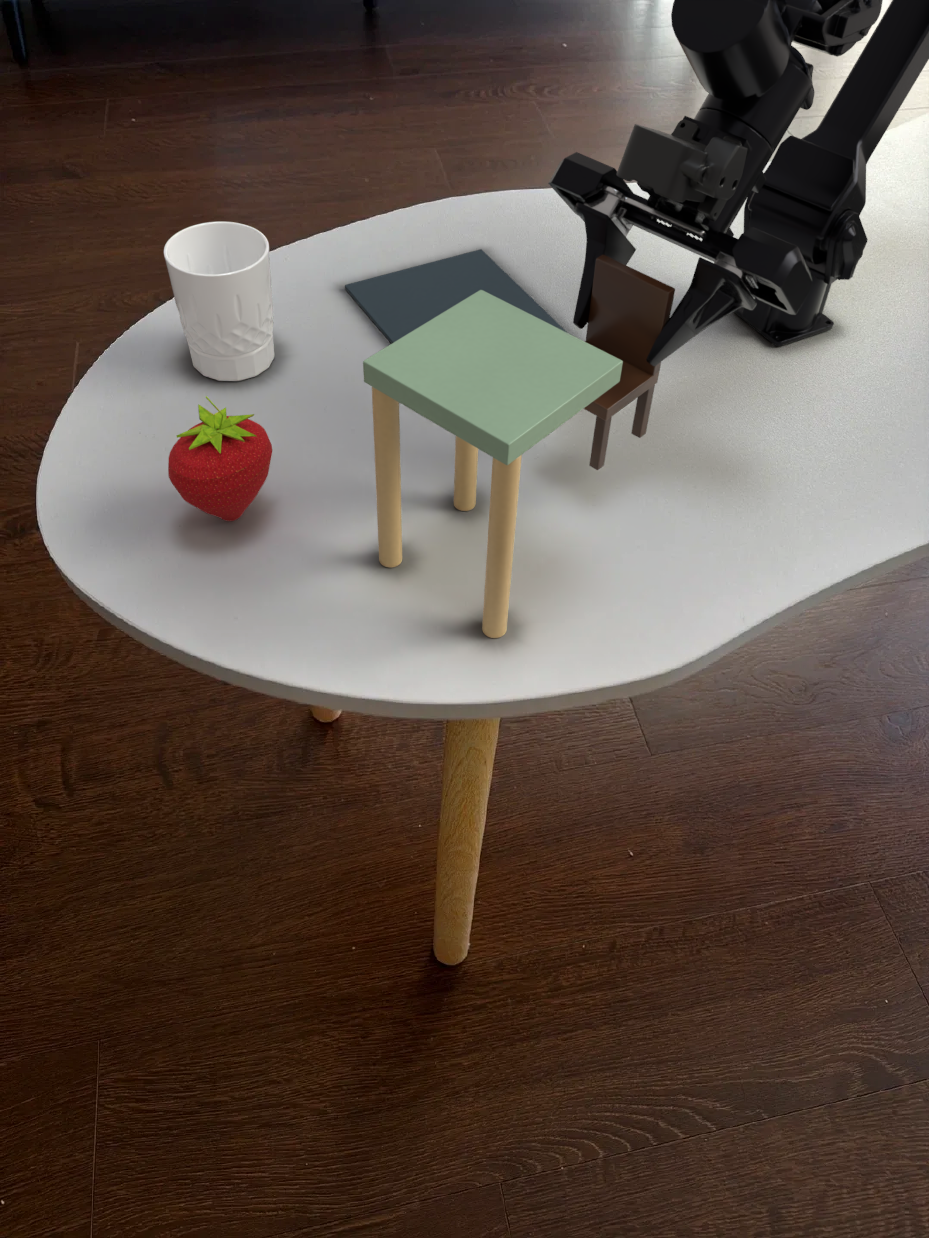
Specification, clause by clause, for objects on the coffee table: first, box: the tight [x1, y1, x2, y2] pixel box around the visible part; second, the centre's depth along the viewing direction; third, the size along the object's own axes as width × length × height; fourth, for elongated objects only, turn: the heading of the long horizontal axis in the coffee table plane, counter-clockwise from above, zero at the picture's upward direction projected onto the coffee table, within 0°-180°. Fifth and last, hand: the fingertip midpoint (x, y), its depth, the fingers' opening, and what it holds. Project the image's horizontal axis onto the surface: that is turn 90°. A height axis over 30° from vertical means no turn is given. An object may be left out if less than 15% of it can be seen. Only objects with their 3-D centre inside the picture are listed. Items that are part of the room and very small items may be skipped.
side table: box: [362, 290, 623, 639], centre depth 70 cm, size 10×11×16 cm
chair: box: [542, 255, 676, 471], centre depth 76 cm, size 6×6×12 cm
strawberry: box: [167, 395, 273, 522], centre depth 74 cm, size 6×8×10 cm
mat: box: [344, 248, 568, 344], centre depth 95 cm, size 14×18×1 cm
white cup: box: [163, 221, 275, 382], centre depth 87 cm, size 8×8×10 cm
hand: (612, 344), depth 75 cm, fingers closed on chair, 6 cm apart
